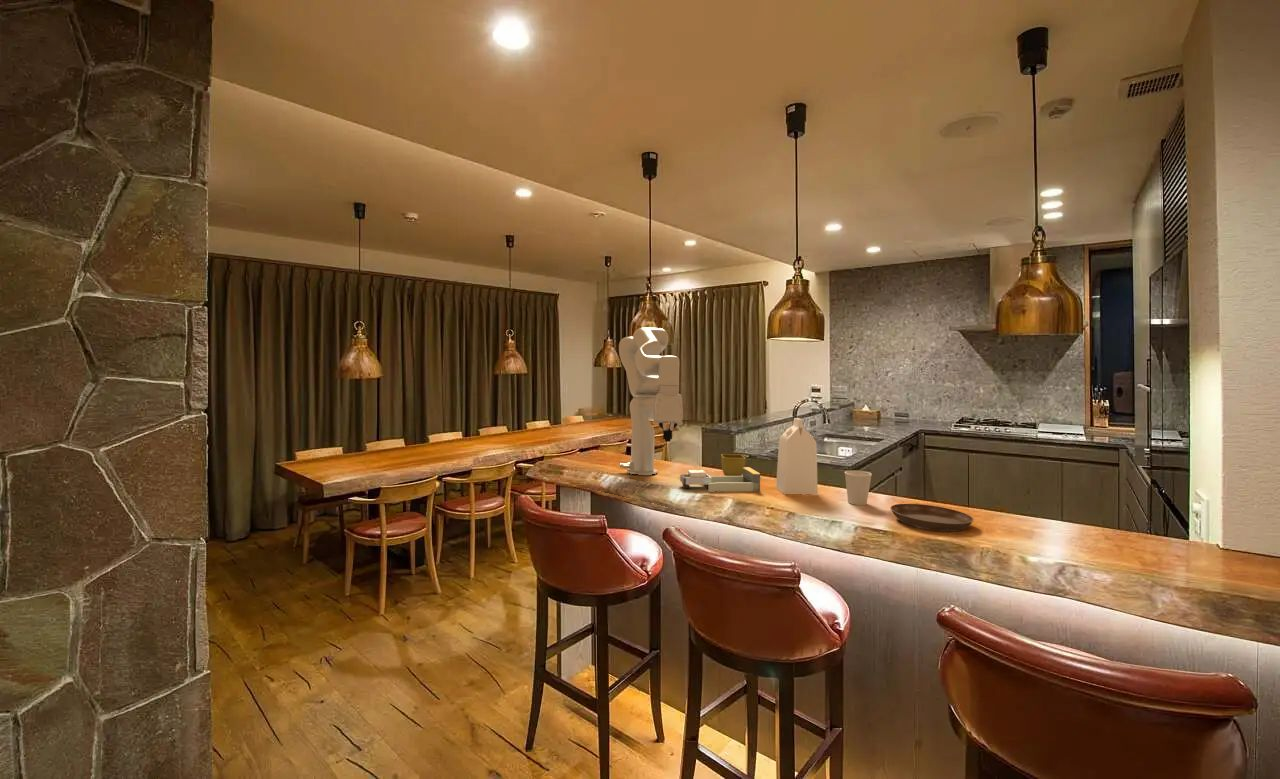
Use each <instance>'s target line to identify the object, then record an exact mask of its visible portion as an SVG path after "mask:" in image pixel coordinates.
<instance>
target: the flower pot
mask: <svg viewBox="0 0 1280 779" xmlns="http://www.w3.org/2000/svg"><path fill="white" fill-rule="evenodd" d="M746 459H747V458H746V457H745V456H744V455H743V454H730V453H728V454H727V453H721V454H720V462H721V463H720V464H721V465H720V466H721V470H722V473H723V476H743V467H746V466H745V465H746Z"/></svg>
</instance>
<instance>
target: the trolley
mask: <svg viewBox="0 0 1280 779" xmlns="http://www.w3.org/2000/svg"><path fill="white" fill-rule="evenodd" d="M710 476H711V475H709V474H708V473H707V472H706V471H705V470H704V469H687V473H681V474H680V476H679V479H680V480H679V481H680V482H681V485H682V486H683V487H684V489H686V490H689V489H690V486H691V485H693V486H694V485H696V486H697V485H703V486H704V487H705V488H706V489H707V490H708V485H709V483H712V478H711V477H710Z"/></svg>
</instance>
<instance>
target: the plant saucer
mask: <svg viewBox="0 0 1280 779" xmlns="http://www.w3.org/2000/svg"><path fill="white" fill-rule="evenodd" d="M890 511H891V512H892V514H893V515H894V517H895V518H897V520H898V521H900V522H902V523H904V524H905V525H908V526H912V527H914V526H915V527H914V528H918V527H919V528H920V529H923V530H928V529H929V531H936V532H937V531H938V532H959V531H962V530H964V529H966V528H968V527H969V526H970V525H971V524H972V523H973V522H974V517H972V516H971V515H970V514H967V513H965V512H962V511H959V510H956V509H951V508H948V507H944V506H943V507H942V506H937V505H931V504H921V503H898V504H893V505H891V506H890ZM919 528H918V529H919Z"/></svg>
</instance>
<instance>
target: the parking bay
mask: <svg viewBox="0 0 1280 779" xmlns="http://www.w3.org/2000/svg"><path fill="white" fill-rule="evenodd" d="M709 476H710V477H711V478H712V483H709V485H708V489H707V491H708V493H714V492H715V491H717V492H761V473H760V472H758V471H756V470H755V469H753V468H752V467H749V466H747V467H746V466H745V467H743V474H742V476H725V475H709ZM715 493H716V492H715Z"/></svg>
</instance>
